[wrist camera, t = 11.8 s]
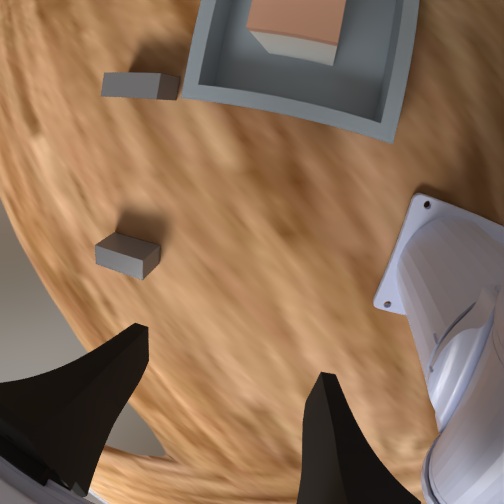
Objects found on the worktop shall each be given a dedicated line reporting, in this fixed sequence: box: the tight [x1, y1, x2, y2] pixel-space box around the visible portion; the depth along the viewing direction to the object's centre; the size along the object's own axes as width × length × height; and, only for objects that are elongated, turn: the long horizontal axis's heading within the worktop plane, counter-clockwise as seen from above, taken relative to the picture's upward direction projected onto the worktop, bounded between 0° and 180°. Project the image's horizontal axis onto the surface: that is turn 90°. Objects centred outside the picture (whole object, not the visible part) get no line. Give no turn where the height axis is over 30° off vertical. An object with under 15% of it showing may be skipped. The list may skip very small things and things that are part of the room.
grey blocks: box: [95, 72, 180, 280], centre depth 19 cm, size 4×13×2 cm, turn 169°
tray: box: [181, 0, 420, 144], centre depth 12 cm, size 11×14×3 cm
